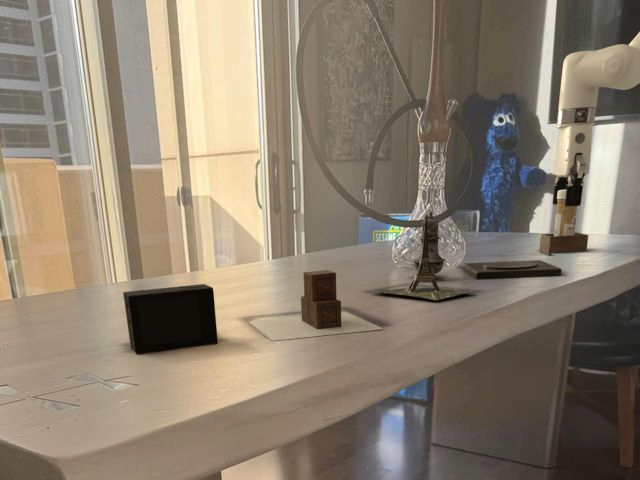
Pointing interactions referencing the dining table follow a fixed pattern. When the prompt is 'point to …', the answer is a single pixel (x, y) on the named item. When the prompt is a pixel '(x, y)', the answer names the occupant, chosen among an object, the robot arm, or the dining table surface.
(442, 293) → the eiffel tower figurine
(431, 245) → the dark brown tall piece
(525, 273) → the hob plate
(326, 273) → the stack of crates
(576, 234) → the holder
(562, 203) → the sprinkles bottle
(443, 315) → the dining table surface
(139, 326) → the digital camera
